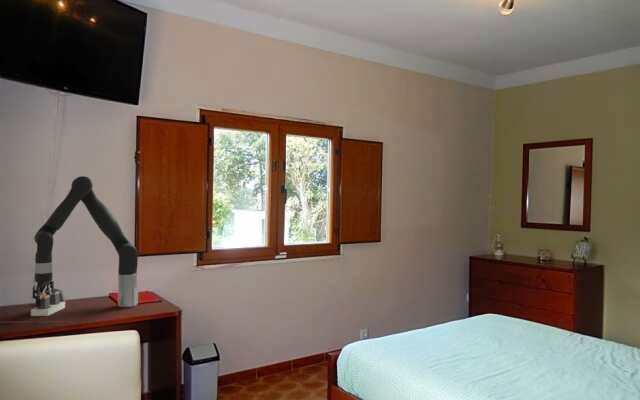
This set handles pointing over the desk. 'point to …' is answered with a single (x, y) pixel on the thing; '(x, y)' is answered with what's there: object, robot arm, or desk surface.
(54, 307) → the power strip
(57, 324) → the desk surface
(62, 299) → the electrical switch
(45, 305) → the plug
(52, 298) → the twin plug
